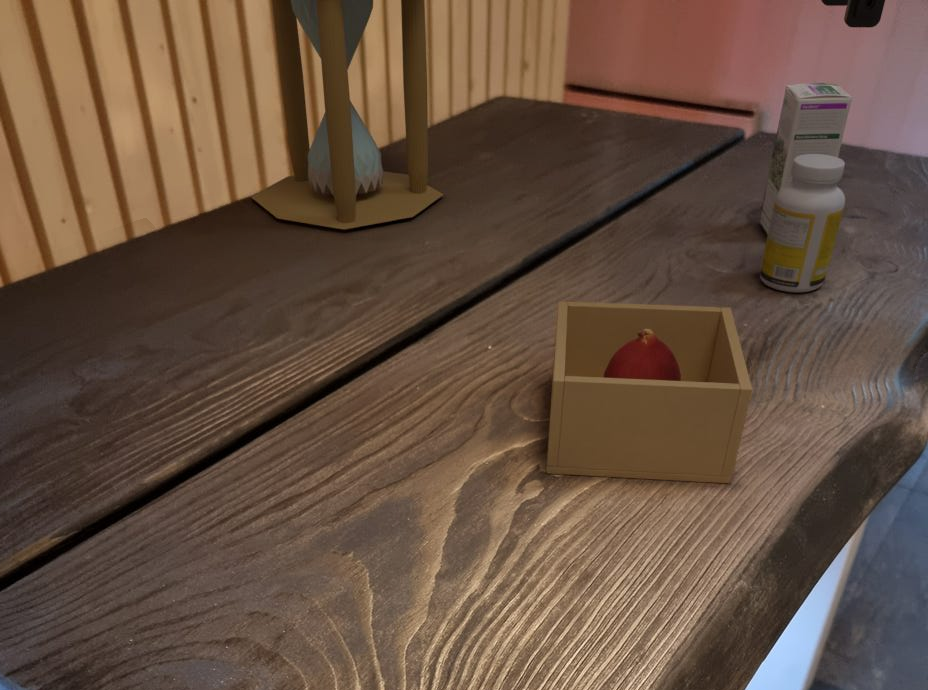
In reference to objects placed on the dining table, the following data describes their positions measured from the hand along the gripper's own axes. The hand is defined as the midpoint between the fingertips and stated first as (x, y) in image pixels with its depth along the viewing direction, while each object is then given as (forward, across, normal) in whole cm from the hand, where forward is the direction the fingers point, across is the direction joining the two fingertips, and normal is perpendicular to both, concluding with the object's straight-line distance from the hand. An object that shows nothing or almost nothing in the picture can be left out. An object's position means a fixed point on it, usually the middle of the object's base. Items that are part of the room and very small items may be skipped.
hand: (847, 15), depth 65 cm
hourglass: (+26, +40, +46) cm, 66 cm away
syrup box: (+26, +33, -7) cm, 43 cm away
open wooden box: (+26, -14, +12) cm, 32 cm away
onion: (+25, -14, +12) cm, 31 cm away
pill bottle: (+26, +18, -5) cm, 32 cm away
